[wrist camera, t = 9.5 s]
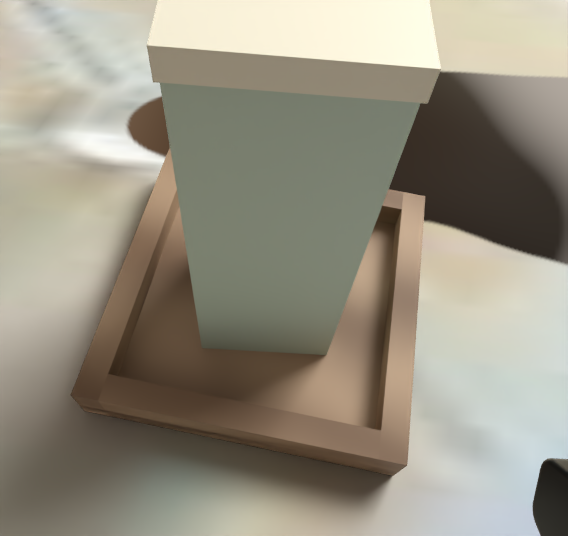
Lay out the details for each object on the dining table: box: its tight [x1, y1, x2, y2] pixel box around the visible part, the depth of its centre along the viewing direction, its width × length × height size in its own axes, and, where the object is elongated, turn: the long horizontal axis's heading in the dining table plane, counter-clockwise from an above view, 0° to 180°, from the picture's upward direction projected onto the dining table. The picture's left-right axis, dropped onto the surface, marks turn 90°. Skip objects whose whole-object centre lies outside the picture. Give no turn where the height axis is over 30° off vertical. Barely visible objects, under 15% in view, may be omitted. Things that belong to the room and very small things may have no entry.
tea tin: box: [147, 0, 441, 355], centre depth 17 cm, size 5×5×14 cm
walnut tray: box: [71, 148, 425, 476], centre depth 23 cm, size 12×12×2 cm
